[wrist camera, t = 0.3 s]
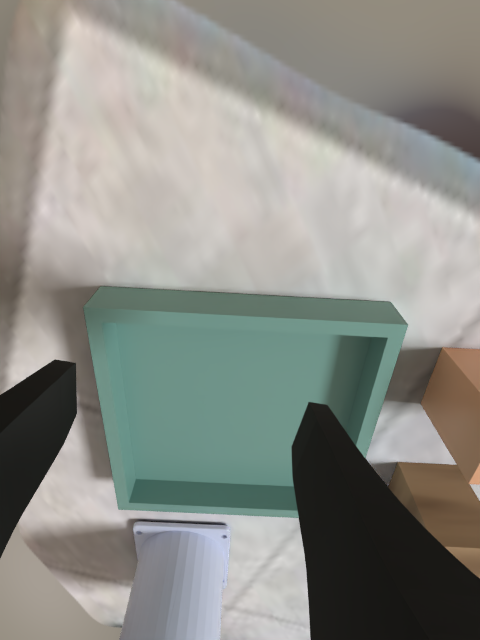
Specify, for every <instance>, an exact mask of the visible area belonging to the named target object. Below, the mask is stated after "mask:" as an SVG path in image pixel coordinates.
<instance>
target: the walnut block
mask: <svg viewBox="0 0 480 640" xmlns="http://www.w3.org/2000/svg"><path fill="white" fill-rule="evenodd" d="M388 488H389V489H390V490H391V491H392V493H393V494H394V495H395V496H396V497H397V498H398V499H399V501H400V502H401V503H402V504H403V505H404V506H405V507H406V508H407V509H408V510H409V511H410V513H411V514H412V515H413V516H414V517H415V518H416V519H417V520H418V521H419V522H420V523H421V524H422V525H423V526H424V527H425V528H426V529H427V530H428V531H429V532H430V533H431V534H432V535H433V536H434V537H435V538H436V539H437V540H438V541H439V542H440V543H441V544H442V545H443V546H444V547H445V548H446V549H447V550H448V551H449V552H451V553H452V554H453V555H454V556H455V557H456V558H457V559H458V560H459V561H460V562H461V563H462V564H464V565H465V566H466V567H467V568H468V569H469V570H470V571H471V572H473V573H474V574H475V575H476V576H477V577H478V578H480V501H479V499H478V498H477V496H476V494H475V493H474V491H473V489H472V488H471V486H470V484H468V482H467V481H466V479H465V477H464V476H463V474H462V472H461V471H460V469H459V467H458V466H457V465H448V464H428V463H407V462H398V463H397V466H396V468H395V471H394V473H393V476H392V479H391V481H390V484H389V486H388Z"/></svg>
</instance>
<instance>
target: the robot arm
mask: <svg viewBox="0 0 480 640" xmlns="http://www.w3.org/2000/svg"><path fill="white" fill-rule="evenodd" d="M76 414H77V397H76V363H73V362H67V361H60V360H54V361H52V362H50V363H49V364H47V365H46V366H44V367H43V368H41V369H40V370H38V371H37V372H35V373H34V374H32V375H31V376H29V377H27V378H26V379H24V380H23V381H21V382H20V383H18V384H17V385H15V386H14V387H12V388H11V389H9V390H7V391H6V392H4V393H3V394H1V395H0V558H1V556H2V553H3V551H4V549H5V547H6V545H7V543H8V541H9V539H10V537H11V534H12V532H13V530H14V529H15V527H16V525H17V523H18V521H19V519H20V518H21V516H22V514H23V512H24V511H25V509H26V507H27V506H28V504H29V502H30V500H31V499H32V497H33V495H34V494H35V492H36V490H37V489H38V487H39V485H40V484H41V482H42V480H43V479H44V477H45V475H46V473H47V472H48V470H49V468H50V467H51V465H52V463H53V462H54V460H55V458H56V456H57V455H58V453H59V451H60V450H61V448H62V446H63V444H64V442H65V440H66V438H67V435H68V433H69V431H70V429H71V426H72V424H73V421H74V419H75V417H76ZM291 448H292V476H293V484H294V491H295V497H296V504H297V510H298V516H299V522H300V528H301V534H302V541H303V547H304V553H305V561H306V570H307V584H308V599H309V615H310V635H311V640H480V578H478V577H477V576H476V575H475V574H474V573H473V572H471V571H470V570H469V569H468V568H467V567H466V566H465V565H464V564H462V563H461V562H460V561H459V560H458V559H457V558H456V557H455V556H454V555H453V554H452V553H451V552H449V551H448V550H447V549H446V548H445V547H444V546H443V545H442V544H441V543H440V542H439V541H438V540H437V539H436V538H435V537H434V536H433V535H432V534H431V533H430V532H429V531H428V530H427V529H426V528H425V527H424V526H423V525H422V524H421V523H420V522H419V521H418V520H417V519H416V518H415V517H414V516H413V515H412V514H411V513H410V511H409V510H408V509H407V508H406V507H405V506H404V505H403V504H402V503H401V502H400V501H399V499H398V498H397V497H396V496H395V495H394V494H393V493H392V491H391V490H390V489H389V488H388V486H387V485H386V484H385V483H384V482H383V480H382V479H381V478H380V477H379V475H378V474H377V473H376V472H375V470H374V469H373V468H372V467H371V465H370V464H369V463H368V461H367V460H366V459H365V457H364V456H363V455H362V453H361V452H360V451H359V449H358V448H357V446H356V445H355V444H354V442H353V441H352V439H351V438H350V437H349V435H348V434H347V432H346V431H345V429H344V428H343V427H342V425H341V424H340V422H339V421H338V419H337V418H336V416H335V415H334V413H333V412H332V411H331V409H330V408H329V406H328V405H325V404H319V403H313V402H308V405H307V408H306V410H305V413H304V415H303V418H302V421H301V423H300V426H299V428H298V431H297V434H296V436H295V439H294V441H293V444H292V447H291ZM133 533H134V540H135V547H136V553H137V560H138V564H137V568H136V572H135V576H134V580H133V584H132V589H131V593H130V597H129V601H128V605H127V609H126V614H125V618H124V622H123V626H122V630H121V635H120V639H119V640H220V628H221V608H222V589H225V588H226V586H227V573H228V559H229V544H230V528H229V527H228V526H225V525H206V524H184V523H163V522H141V521H139V522H135V523H134V526H133Z"/></svg>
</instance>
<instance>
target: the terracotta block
mask: <svg viewBox="0 0 480 640" xmlns="http://www.w3.org/2000/svg"><path fill="white" fill-rule="evenodd" d="M421 405H422V407H423V409H424V410H425V412H426V414H427V415H428V417H429V419H430V420H431V422H432V424H433V425H434V427H435V429H436V430H437V432H438V434H439V435H440V437H441V439H442V440H443V442H444V444H445V445H446V447H447V449H448V450H449V452H450V454H451V455H452V457H453V459H454V460H455V462H456V464H457V466H458V467H459V469H460V471H461V472H462V474H463V476H464V477H465V479H466V481H467V482H468V484H480V349H464V348H445V347H442V349H441V352H440V355H439V357H438V360H437V362H436V365H435V368H434V370H433V373H432V375H431V378H430V380H429V383H428V386H427V388H426V391H425V393H424V396H423V399H422V401H421Z"/></svg>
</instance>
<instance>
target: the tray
mask: <svg viewBox="0 0 480 640" xmlns="http://www.w3.org/2000/svg"><path fill="white" fill-rule="evenodd" d="M83 309H84V315H85V321H86V327H87V332H88V338H89V344H90V350H91V355H92V361H93V367H94V372H95V378H96V384H97V390H98V395H99V401H100V407H101V412H102V418H103V424H104V430H105V435H106V441H107V447H108V453H109V458H110V464H111V470H112V475H113V481H114V487H115V493H116V498H117V504H118V509H119V510H141V511H162V512H184V513H205V514H227V515H248V516H270V517H291V518H299V516H298V510H297V504H296V497H295V491H294V484H293V476H292V448H291V447H292V444H293V441H294V439H295V436H296V434H297V431H298V428H299V426H300V423H301V421H302V418H303V415H304V413H305V410H306V408H307V405H308V402H313V403H319V404H325V405H328V406H329V408H330V409H331V411H332V412H333V413H334V415H335V416H336V418H337V419H338V421H339V422H340V424H341V425H342V427H343V428H344V429H345V431H346V432H347V434H348V435H349V437H350V438H351V439H352V441H353V442H354V444H355V445H356V446H357V448H358V449H359V451H360V452H361V453H362V455H363V456H364V457H365V458H366V455H367V451H368V448H369V445H370V442H371V439H372V436H373V433H374V430H375V426H376V423H377V420H378V417H379V414H380V411H381V408H382V405H383V402H384V398H385V395H386V392H387V389H388V386H389V383H390V380H391V377H392V374H393V370H394V367H395V364H396V361H397V358H398V355H399V352H400V349H401V345H402V342H403V339H404V336H405V333H406V330H407V327H408V324H407V323H406V321H405V320H404V319H403V317H402V316H401V315H400V313H399V312H398V311H397V309H396V308H395V307H394V305H393V304H392V303H391V302H380V301H362V300H343V299H325V298H307V297H289V296H270V295H252V294H234V293H216V292H197V291H179V290H161V289H143V288H124V287H106V286H100V288H99V289H98V290H97V291H96V292H95V294H94V295H93V296H92V297H91V298H90V300H89V301H88V302H87V303H86V304H85V306H84V307H83Z"/></svg>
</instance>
